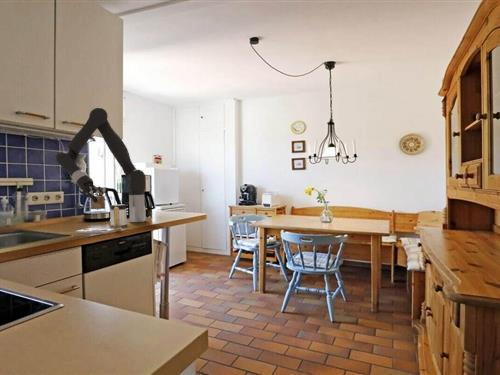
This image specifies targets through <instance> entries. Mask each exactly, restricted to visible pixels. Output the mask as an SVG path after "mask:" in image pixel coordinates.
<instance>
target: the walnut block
mask: <svg viewBox="0 0 500 375" xmlns="http://www.w3.org/2000/svg"><path fill="white" fill-rule="evenodd" d="M94 196H95V197H96V198H97V199H98V201H97V202H96V203H95V202H94V201H93V200H92V199H91V198H90V210H102V209H106V200H105V199H106V198H105V195H103V196H96V195H94Z"/></svg>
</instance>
